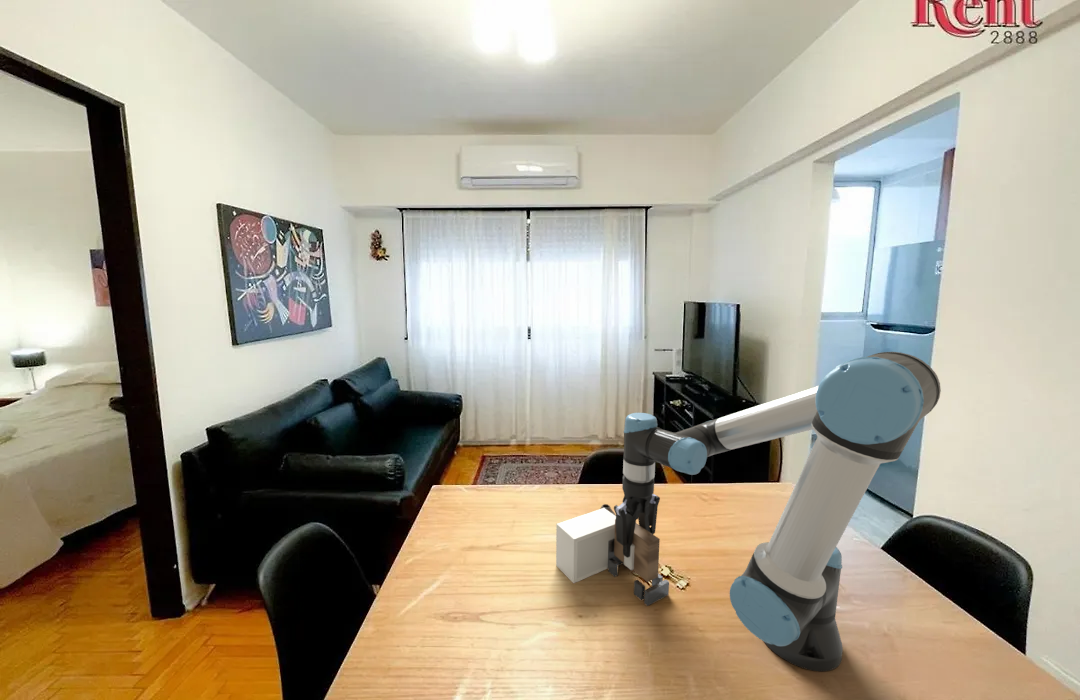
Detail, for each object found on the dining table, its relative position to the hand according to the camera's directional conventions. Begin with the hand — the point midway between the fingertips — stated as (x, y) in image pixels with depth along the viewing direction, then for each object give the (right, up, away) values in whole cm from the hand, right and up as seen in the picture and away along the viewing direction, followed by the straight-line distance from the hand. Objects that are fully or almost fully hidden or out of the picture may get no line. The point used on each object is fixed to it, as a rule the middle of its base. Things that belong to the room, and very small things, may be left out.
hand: (635, 563), depth 105 cm
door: (0, 0, 0) cm, 0 cm away
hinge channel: (0, -5, +1) cm, 5 cm away
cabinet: (-11, -4, +7) cm, 13 cm away
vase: (-4, -2, +21) cm, 22 cm away
